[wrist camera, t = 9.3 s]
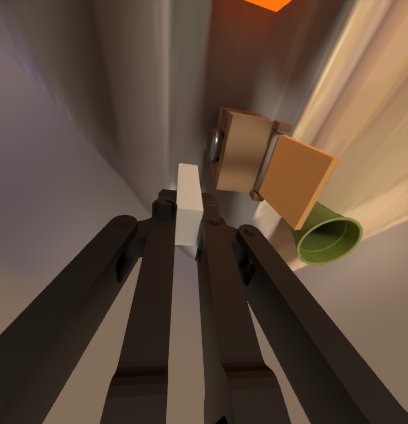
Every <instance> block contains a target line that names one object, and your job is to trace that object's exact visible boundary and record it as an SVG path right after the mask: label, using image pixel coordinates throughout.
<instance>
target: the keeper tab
mask: <svg viewBox="0 0 408 424" xmlns="http://www.w3.org/2000/svg"><path fill="white" fill-rule="evenodd" d="M339 161H340V158H337V157H335V156H333V155H330V154H328V153H326V152H323V151H321V150H319V149H316V148H314V147H312V146H310V145H307V144H305V143H303V142H300V141H298V140H296V139H293V138H291V137H289V136H286V135H284V134H283V133H279V132H274V134H273V137H272V140H271V143H270V146H269V148H268V151H267V154H266V157H265V160H264V163H263V166H262V169H261V171H260V174H259V177H258V180H257V183H256V186H255V189H254V190H255V191H257V192H259V194H260V195H261V196H262V197H263V198H264V199H265V200H266V201H267V202H268V203H269V204H270V205H271V206H272V207H273V208H274V209H275V211H276V212H277V213H278V214H279V215H280V216H281V217H282V218H283V219H284V220H285V221H286V222H287V223H288V224H289V225H290V226H291V227H292V228H293V229H294V230H300V229H301V227H302V226H303V224H304V222H305V220H306V219H307V217H308V215H309V213H310V212H311V210H312V208H313V206H314V205H315V203H316V201H317V199H318V197H319V196H320V194H321V192H322V190H323V189H324V187H325V185H326V183H327V182H328V180H329V178H330V176H331V175H332V173H333V171H334V169H335V168H336V166H337V164H338V162H339Z"/></svg>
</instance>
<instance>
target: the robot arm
mask: <svg viewBox="0 0 408 424" xmlns="http://www.w3.org/2000/svg"><path fill="white" fill-rule="evenodd" d="M197 241H198V248H197V253H196V257H195V261H197V267H198V283H199V298H200V314H201V330H202V346H203V362H204V378H205V400H204V424H291V422H290V418H289V415H288V411H287V408H286V405H285V402H284V398H283V395H282V392H281V388H280V386H279V383H278V380H277V378H276V376H275V374H274V372H273V371H272V370H271V369H270V368H269V367H268V366H266V364H265V363H264V360H263V358H262V354H261V351H260V347H259V343H258V340H257V336H256V332H255V329H254V325H253V321H252V318H251V314H250V311H249V307H248V303H249V305H250V307H251V308H252V311H253V312H254V315H255V317H256V318H257V320H258V322H259V324H260V326H261V328H262V330H263V332H264V334H265V336H266V338H267V340H268V342H269V344H270V345H271V348H272V349H273V351H274V353H275V355H276V357H277V359H278V361H279V363H280V365H281V367H282V369H283V371H284V373H285V375H286V377H287V379H288V380H289V382H290V384H291V386H292V388H293V390H294V392H295V394H296V396H297V398H298V400H299V402H300V404H301V406H302V408H303V409H304V411H305V414H306V415H307V417H308V419H309V421H310V423H311V424H408V412H407V411H405V409H403V408H402V406H401V405H400V404H399V403H398V402H397V400H396V399H395V398H394V397H393V395H392V394H391V393H390V392H389V390H388V389H387V388H386V387H385V386H384V384H383V383H382V382H381V381H380V379H379V378H378V377H377V376H376V374H375V373H374V372H373V371H372V369H371V368H370V367H369V366H368V364H367V363H366V362H365V361H364V359H363V358H362V357H361V356H360V354H359V353H358V352H357V351H356V349H355V348H354V347H353V346H352V345H351V343H350V342H349V341H348V340H347V338H346V337H345V336H344V335H343V333H342V332H341V331H340V330H339V328H338V327H337V326H336V325H335V324H334V322H333V321H332V320H331V318H330V317H329V316H328V315H327V314H326V312H325V311H324V310H323V309H322V307H321V306H320V305H319V304H318V303H317V301H316V300H315V299H314V297H313V296H312V295H311V294H310V292H309V291H308V290H307V289H306V288H305V286H304V285H303V284H302V283H301V281H300V280H299V279H298V278H297V276H296V275H295V274H294V273H293V271H292V270H291V269H290V268H289V266H288V265H287V264H286V263H285V261H284V260H283V259H282V258H281V256H280V255H279V254H278V253H277V251H276V250H275V249H274V248H273V247H272V245H271V244H270V243H269V242H268V240H267V239H266V238H265V237H264V235H263V234H262V233H261V232H260V231H259V230H258V229H257V228H256V227H254V226H252V225H247V224H244V225H241V226H240V227H239V229H236V228H233V227H230V226H228V225H226V222H225V221H224V219H223V218H221V217H220V214H219V210H218V206H217V202H216V198H215V197H214V196H213V195H212V194H208V193H201V189H200V182H199V175H198V167H197V165H189V164H181V163H179V170H178V180H177V191H175V190H166V189H163V190H161V191H160V192H159V195H158V199H157V200H155V201H154V202H153V203H152V217H151V218H150V219H147V220H143V221H137V219H135V218H134V217H132V216H129V215H121V216H117V217H114V218H113V219H112V220H111V221H110V222H109V223H108V224H107V225H106V226H105V227H104V228H103V229H102V230H101V231H100V232H99V233H98V234H97V235H96V236H95V237H94V238H93V239H92V240H91V241H90V242H89V243H88V244H87V245H86V247H85V248H84V249H83V250H82V251H81V252H80V253H79V254H78V255H77V256H76V257H75V258H74V259H73V260H72V261H71V262H70V263H69V264H68V265H67V266H66V267H65V268H64V269H63V270H62V271H61V272H60V273H59V275H57V277H56V278H55V279H54V280H53V281H52V282H51V283H50V284H49V285H48V286H47V287H46V288H45V289H44V290H43V291H42V292H41V293H40V294H39V295H38V296H37V297H36V298H35V299H34V300H33V301H32V303H31V304H29V306H28V307H27V308H26V309H25V310H24V311H23V312H22V313H21V314H20V315H19V316H18V317H17V318H16V319H15V320H14V321H13V322H12V323H11V324H10V325H9V326H8V327H7V328H6V330H5V331H3V332H2V334H1V335H0V424H42V423H43V421H44V419H45V418H46V416H47V414H48V413H49V411H50V409H51V407H52V406H53V404H54V402H55V400H56V399H57V397H58V396H59V394H60V392H61V390H62V389H63V387H64V385H65V384H66V382H67V380H68V379H69V377H70V375H71V373H72V372H73V370H74V368H75V367H76V365H77V363H78V361H79V360H80V358H81V356H82V354H83V353H84V351H85V349H86V348H87V346H88V344H89V342H90V341H91V339H92V337H93V336H94V334H95V332H96V331H97V329H98V327H99V326H100V324H101V322H102V320H103V319H104V317H105V315H106V314H107V312H108V310H109V309H110V307H111V305H112V303H113V302H114V300H115V298H116V297H117V295H118V293H119V291H120V290H121V288H122V286H123V285H124V283H125V281H126V280H127V278H128V276H129V274H130V273H131V271H132V269H133V267H134V266H135V264H136V262H137V261H138V258H140V257H143V258H142V262H141V267H140V271H139V276H138V280H137V284H136V289H135V293H134V297H133V302H132V307H131V310H130V315H129V319H128V324H127V328H126V332H125V337H124V341H123V345H122V349H121V354H120V358H119V362H118V366H117V370H116V372H115V374H114V376H113V377H112V380H111V383H110V386H109V389H108V393H107V396H106V401H105V404H104V409H103V413H102V417H101V421H100V424H166V409H167V387H168V355H169V338H170V337H169V336H170V321H171V319H170V318H171V302H172V285H173V266H174V250H175V245H189V246H196V245H197ZM247 301H248V303H247Z"/></svg>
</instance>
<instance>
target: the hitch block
mask: <svg viewBox="0 0 408 424" xmlns="http://www.w3.org/2000/svg"><path fill="white" fill-rule="evenodd" d="M292 126H293V125H291V124H288V123H285V122H280V121H273V120H271V119H269V118H266V117H264V116H262V115H259V114H257V113H255V112H250V111H244V110H239V109H233V108H228V107H223V106H220V110H219V116H218V121H217V126H216V127H218V128H221V132H222V136H224V140H223V144H222V149H221V154H220V157H218V159H217V161H216V163H210V164H209V165H210V169H211V172H212V176H213V179H214V183H215V186H216V189H218V190H226V191H235V192H244V193H250V194H249V195H250V196H251V198H252V200H254V201H263V200H264V198H263V197H262V196H261V195H260V194H259V192H257V191H255V190H254V189H255V186H256V183H257V180H258V177H259V174H260V171H261V169H262V166H263V163H264V160H265V157H266V154H267V151H268V148H269V146H270V143H271V140H272V137H273V134H274V132H277V130H278V131H284V132H290V131H291V128H292Z"/></svg>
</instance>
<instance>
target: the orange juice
mask: <svg viewBox="0 0 408 424" xmlns="http://www.w3.org/2000/svg"><path fill="white" fill-rule="evenodd" d="M246 1H248V2H251V3H254V4H256V5H259V6H262V7H265V8H267V9H270V10H273V11H275V12H277V11H278V10H280V9H281V8H282V7H283V6H285V5H286V4H287V3H289V2H290V1H291V0H246Z"/></svg>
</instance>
